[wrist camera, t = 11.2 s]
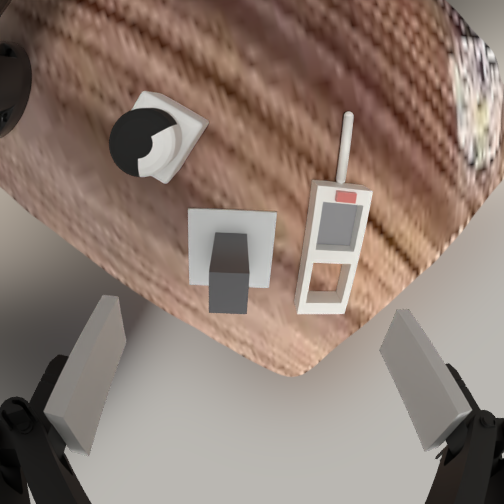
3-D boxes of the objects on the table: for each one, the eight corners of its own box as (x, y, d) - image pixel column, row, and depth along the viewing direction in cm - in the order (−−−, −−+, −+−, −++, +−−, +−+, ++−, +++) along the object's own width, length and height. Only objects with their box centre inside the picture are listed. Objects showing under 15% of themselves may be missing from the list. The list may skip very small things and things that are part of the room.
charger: (215, 232, 40) (208, 272, 31) (247, 233, 40) (249, 273, 31) (214, 266, 42) (209, 312, 33) (244, 268, 42) (246, 314, 33)
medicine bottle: (130, 143, 34) (87, 160, 24) (160, 92, 32) (125, 87, 21) (178, 171, 36) (153, 200, 26) (210, 121, 34) (197, 127, 23)
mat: (188, 207, 38) (188, 208, 38) (276, 211, 39) (276, 212, 39) (189, 283, 43) (189, 284, 43) (268, 286, 44) (268, 287, 44)
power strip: (320, 106, 33) (328, 107, 30) (373, 116, 34) (386, 117, 30) (294, 301, 45) (298, 317, 42) (338, 301, 46) (345, 316, 42)
